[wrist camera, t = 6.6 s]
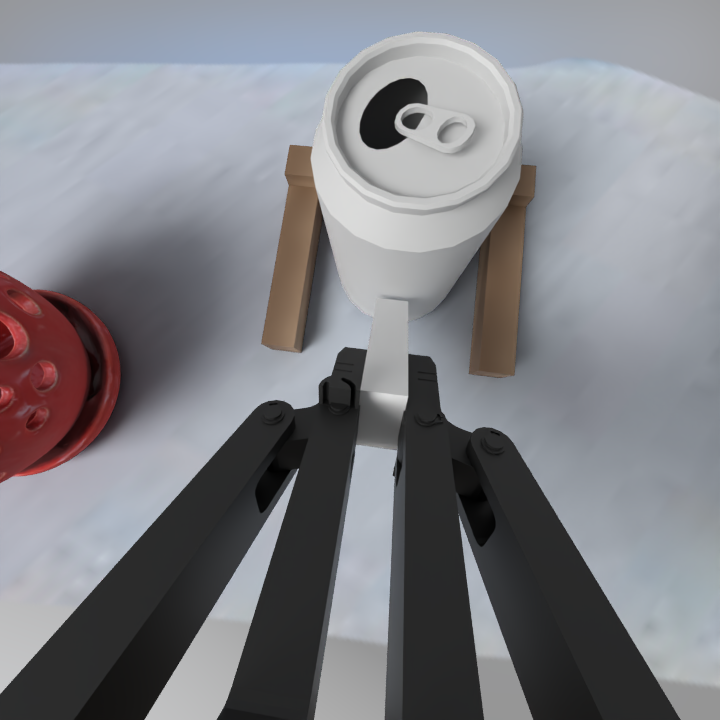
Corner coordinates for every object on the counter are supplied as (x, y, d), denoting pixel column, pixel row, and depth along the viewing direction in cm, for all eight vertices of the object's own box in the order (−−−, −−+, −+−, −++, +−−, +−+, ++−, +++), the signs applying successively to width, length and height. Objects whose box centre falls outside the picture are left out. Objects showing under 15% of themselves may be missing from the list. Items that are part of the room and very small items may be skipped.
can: (381, 201, 22) (390, -31, 10) (472, 258, 21) (597, 75, 9) (318, 286, 22) (251, 141, 10) (410, 348, 21) (460, 272, 9)
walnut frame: (514, 198, 22) (536, 165, 19) (500, 377, 20) (522, 373, 17) (300, 178, 23) (289, 145, 20) (272, 349, 21) (255, 340, 18)
